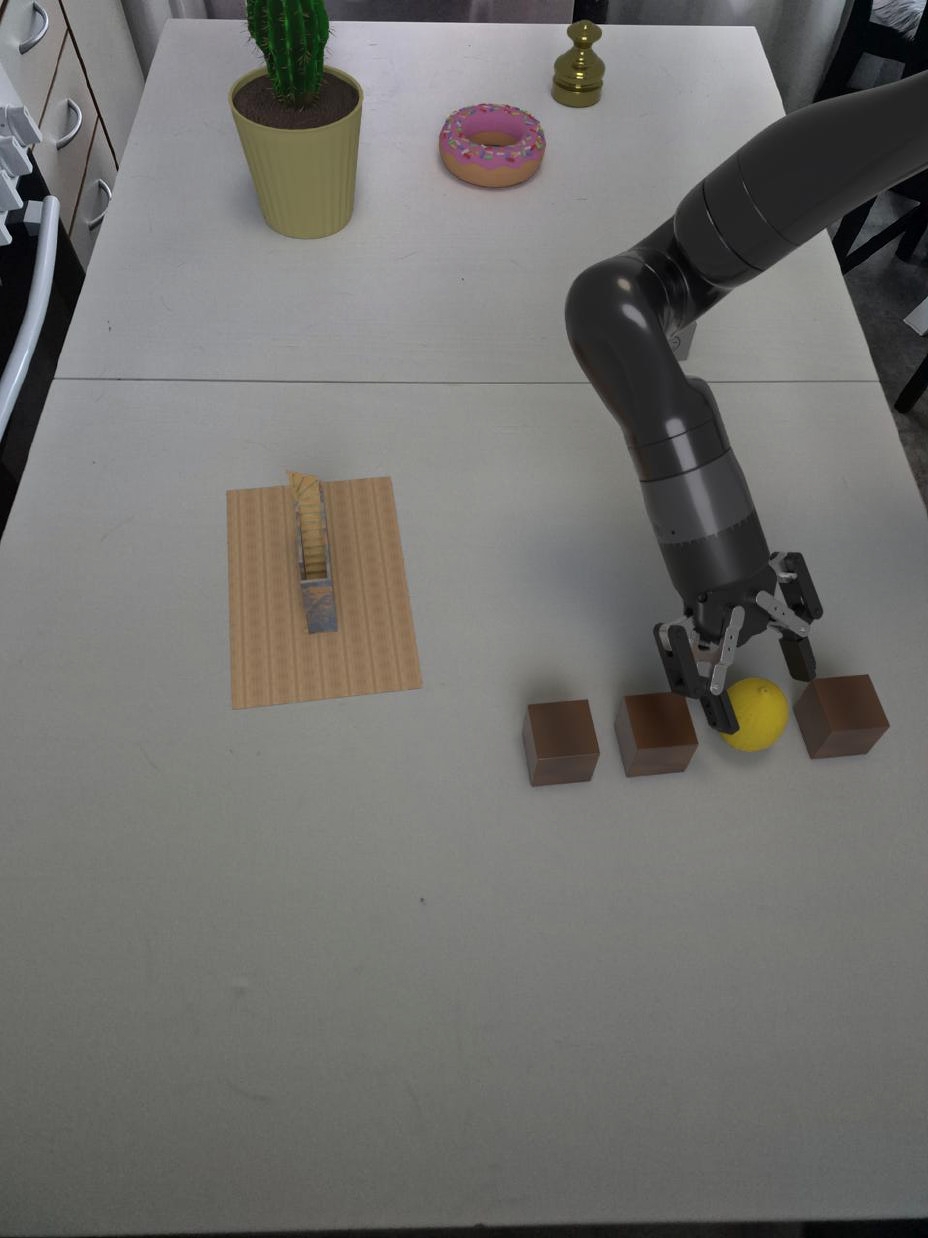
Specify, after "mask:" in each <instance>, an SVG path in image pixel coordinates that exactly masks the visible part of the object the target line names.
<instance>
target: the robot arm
mask: <svg viewBox="0 0 928 1238" xmlns="http://www.w3.org/2000/svg"><path fill="white" fill-rule="evenodd" d="M927 169H928V69H926V70H923V71H921V72H917V73H915V74H912V75H911V76H908V77H905V78H903V79H900V80H898V81H894V82H889V83H886V84H883V85H879V86H876V87H872V88H868V89H863V90H859V91H855V92H852V93H847V94H843V95H840V96H835V97H831V98H827V99H824V100H820V101H817V102H814V103H811V104H808V105H806V106H804V107H801V108H799V109H797V110H794V111H791V112H790V113H788V114H786V115H784V116H783V117H780V118H779V119H778V120H775V121H774V122H772V123H771V124H769V125H768V126H767V127H765V128H764V129H762V130H761V131H759V132H758V133H756V134H755V135H754V136H752V137H751V139H749V140H748V141H747V142H745V143H744V144H743V145H742V146H741V147H740V148H738V149H737V150H736V151H735V152H734V153H732V154H731V155H730V156H729V157H727V158H726V159H725V160H724V161H723V162H721V163H720V164H719V165H718V166H717V167H715V168H714V169H713V170H712V171H711V172H710V173H708V175H706V176H705V177H704V178H703V179H702V180H700V181H699V182H698V183H697V184H696V185H694V186H693V188H691V190H689V191H688V193H687V194H685V196H684V197H683V198H682V200H681V201H680V202H679V204H678V205H677V207H676V208H675V209H676V210H675V213H674V214H673V215H672V216H670V217H669V218H668V219H666V220H665V221H664V222H663V223H662V224H660V225H659V226H658V227H656V229H654V230H653V231H652V232H651V233H649V234H648V235H647V236H645V237H644V238H643V239H642V240H640V241H638V242H637V243H636V244H634V245H632V246H631V247H629V248H628V249H626V250H624V251H622V252H620V253H618V254H616V255H613V256H611V257H608V258H606V259H604V260H600V261H598V262H596V263H594V264H592V265H590V266H588V267H586V268H585V269H584V270H583V271H582V272H580V273H579V274H578V275H577V276H576V277H575V279H574V280H573V281H572V283H571V285H570V287H569V289H568V291H567V293H566V297H565V300H564V301H565V302H564V324H565V331H566V335H567V341H568V342H569V347H570V348H571V351H572V353H573V355H574V358H575V359H576V362H577V363H578V365H579V367H580V369H581V370H582V373H583V374H584V375H585V377H586V378H587V380H588V381H589V383H590V385H591V386H592V388H593V389H594V391H595V393H596V394H597V396H598V397H599V399H600V400H601V402H602V404H603V405H604V406H605V408H606V409H607V411H608V412H609V413H610V415H611V416H612V417H613V419H614V420H615V421H616V423H617V425H618V426H619V427H620V430H621V433H622V435H623V439H624V442H625V445H626V448H627V451H628V454H629V456H630V459H631V462H632V464H633V465H632V466H633V468H634V470H635V473H636V476H637V478H638V482H639V485H640V489H641V494H642V499H643V503H644V507H645V511H646V514H647V516H648V519H649V522H650V525H651V527H652V531H653V533H654V536H655V538H656V541H657V544H658V547H659V550H660V553H661V555H662V559H663V561H664V564H665V566H666V569H667V572H668V575H669V578H670V580H671V581H670V582H671V584H672V587H673V588H674V589H675V591H676V592H677V594H678V595H679V596H680V598H681V600H682V606H683V609H682V610H683V611H682V616H680V617H678V618H676V619H674V620H673V621H671V622H669V623H665V622H657V623H655V624H654V626H653V629H652V634H653V638H654V641H655V644H656V647H657V649H658V653H659V656H660V660H661V662H662V666H663V669H664V673H665V676H666V679H667V682H668V685H669V689H670V692H672V693H673V694H676V695H680V696H684V697H685V698H687V699H689V698H690V699H693V700H699V702H700V705H701V708H702V711H703V713H704V717H705V718H706V721H707V724H708V725H709V726H710V727H711V729H713V730H716V731H718V733H719V732H722V733H726V734H729V735H733V734H735V733H736V732H737V731H739V730H740V726H739V723H738V721H737V718H736V715H735V712H734V709H733V707H732V704H731V701H730V698H729V695H728V693H727V690H728V689H724V686H725V682H726V678H727V677H726V676H727V671H728V668H729V667H731V666H732V665H733V663H734V659H735V656H736V649H738V648H740V647H743V646H744V645H746V644H747V643H748V641H750V639H751V638H752V637H754V636H757V635H761V634H762V633H764V632H765V631H767V630H768V627H769V628H770V629H772V630H773V631H774V632H776V633H778V634H779V635H781V637H779V638H778V639H777V640H778V642H779V646H780V648H781V652H782V655H783V658H784V661H785V664H786V666H787V670H788V672H789V673H788V674H789V675H790V677H791V678H792V679H793V680H794V681H798V682H804V683H810V681H811V680H813V679H817V673H816V669H817V660H816V657H815V655H814V652H813V648H812V645H811V642H810V639H809V634H810V631H811V627H810V626H811V625H812V624H813V622H814V621H815V620H816V621H817V620H818V621H819V620H820V619H822V617H823V615H824V609H823V606H822V603H821V600H820V598H819V595H818V593H817V592H818V591H817V589H816V587H815V585H814V582H813V579H812V576H811V573H810V570H809V569H808V565H807V563H806V560H805V557H804V555H803V553H802V552H799V551H786V550H785V551H773V552H772V553H771V551H770V548H769V546H768V542H767V540H766V536H765V533H764V529H763V528H762V524H761V521H760V518H759V516H758V512H757V509H756V505H755V502H754V500H753V497H752V496H753V495H752V494H751V490H750V487H749V484H748V481H747V479H746V475H745V474H744V471H743V469H742V466H741V464H740V462H739V461H738V459H737V456H736V454H735V452H734V450H733V447H732V445H731V442H730V438H729V436H728V432H727V429H726V425H725V423H724V419H723V417H722V414H721V411H720V408H719V405H718V402H717V399H716V397H715V395H714V393H713V390H712V389H711V387H710V385H709V383H708V382H707V381H706V380H705V379H703V378H702V377H700V376H697V375H692V374H691V375H690V374H689V375H688V374H687V375H686V374H685V372H684V370H683V368H682V366H681V364H680V361H678V360H677V358H676V356H675V354H674V352H673V350H672V348H671V346H670V344H669V342H668V341H669V340H670V339H672V338H673V337H675V336H676V335H677V334H679V333H680V332H681V331H683V330H684V329H685V328H687V327H688V326H689V325H691V324H692V323H693V322H695V321H696V322H697V320H699V319H700V318H701V317H703V316H704V315H705V314H707V312H709V311H710V310H712V308H714V307H715V306H716V305H717V304H719V303H720V302H721V301H722V300H723V299H725V298H726V297H727V296H728V295H729V294H730V293H731V292H733V291H734V290H735V289H736V288H738V287H742V286H743V285H745V284H746V283H748V282H750V281H752V280H754V279H755V278H757V277H758V276H760V275H762V274H764V273H765V272H766V271H768V270H769V269H771V268H772V267H774V266H775V265H776V264H778V263H779V262H780V261H782V260H784V259H785V258H786V257H787V256H790V254H792V253H794V251H796V250H797V249H799V248H800V247H802V246H803V245H805V244H806V243H807V242H809V241H811V240H812V239H813V238H814V237H816V236H817V235H818V234H821V232H823V231H824V230H825V229H827V228H828V227H830V226H832V225H833V224H834V223H835V222H837V221H839V220H840V219H842V218H843V217H845V216H846V215H848V214H849V213H851V212H853V211H854V210H856V209H857V208H859V207H860V206H862V205H864V204H865V203H867V202H869V201H871V200H872V199H874V198H875V197H877V196H879V195H880V194H882V193H884V192H886V191H887V190H889V189H891V188H893V187H895V186H897V185H899V184H900V183H902V182H904V181H906V180H908V179H910V178H912V177H913V176H916V175H917V174H919V173H921V172H923V171H925V170H927ZM777 585H778V586H779V589H780V591H781V593H782V594H781V595H782V596H783V599H784V603H785V604H786V605H785V604H783V603H782V602H781V601H779V600H777V599H776V598H775V595H776V588H777ZM693 631H694V632H695V633H694V638H692V632H693ZM711 643H712V644H713V645H715V646H718V647H717V650H716V651H715V652H712V651H711ZM691 646H692V647H691Z"/></svg>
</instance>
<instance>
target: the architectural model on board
mask: <svg viewBox="0 0 928 1238" xmlns="http://www.w3.org/2000/svg"><path fill="white" fill-rule="evenodd" d="M284 472H285V474H288V485H279V486H267V487H256V488H244V489H234V490H226V523H227V524H226V525H227V566H228V605H229V606H228V607H229V638H230V639H229V651H230V689H231V691H230V693H231V710H241V709H251V708H257V707H259V708H260V707H266V706H276V705H277V706H278V705H283V704H293V703H301V702H302V703H303V702H310V701H319V700H327V699H328V700H329V699H338V698H346V697H355V696H361V695H362V696H363V695H372V694H380V693H388V692H397V691H406V690H407V691H408V690H415V689H423V688H424V686H423V680H422V673H421V666H420V659H419V653H418V647H417V646H418V645H417V641H416V634H415V633H416V632H415V627H414V620H413V613H412V607H411V601H410V595H409V588H408V587H409V586H408V581H407V575H406V567H405V561H404V556H403V549H402V542H401V535H400V530H399V522H398V516H397V509H396V502H395V495H394V488H393V483H392V477H391V476H382V477H381V476H380V477H371V478H370V477H369V478H359V479H348V480H347V479H346V480H335V481H323V480H319V477H318V476H315V475H309V474H303V473H299V472H295V471H291V470H288V469H287V470H284Z"/></svg>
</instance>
